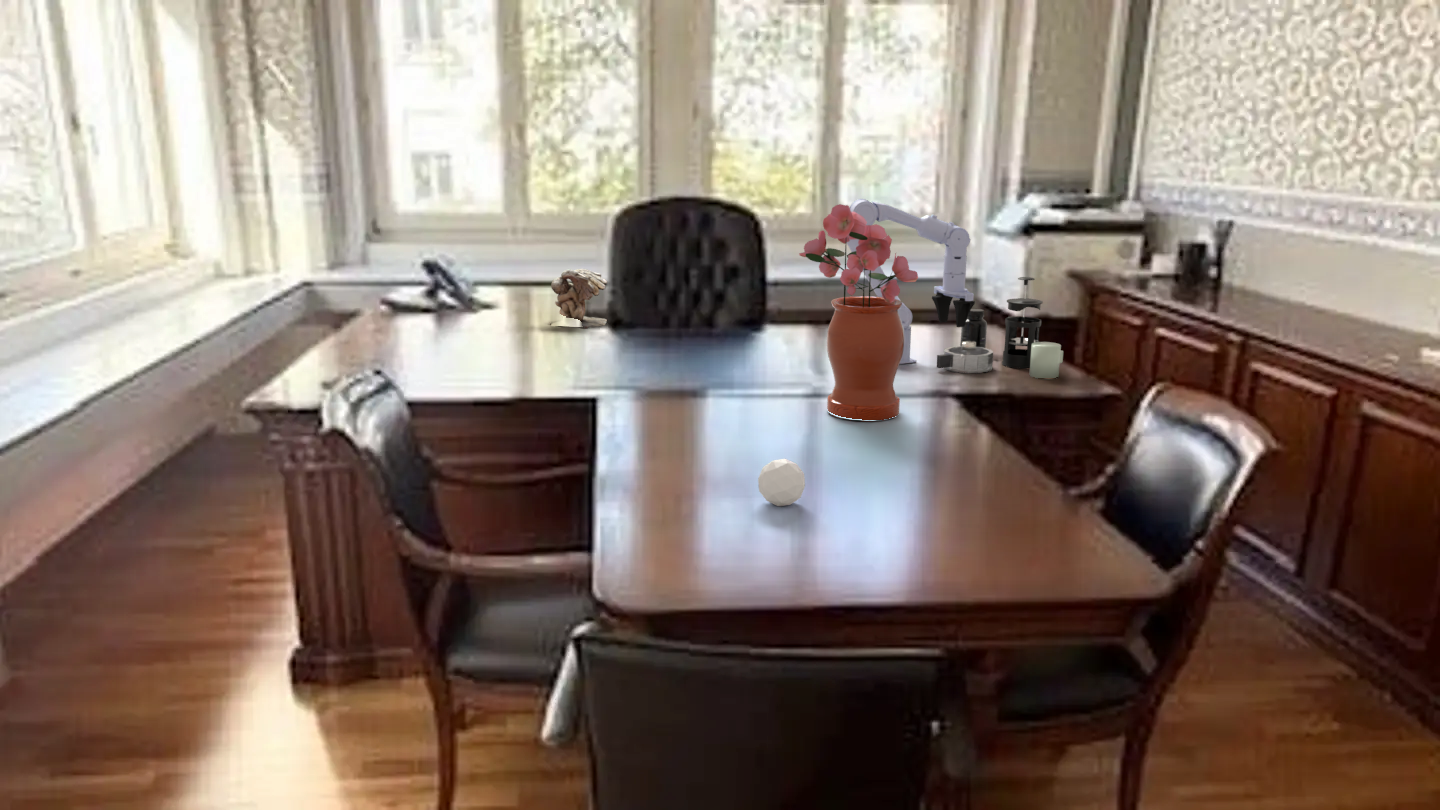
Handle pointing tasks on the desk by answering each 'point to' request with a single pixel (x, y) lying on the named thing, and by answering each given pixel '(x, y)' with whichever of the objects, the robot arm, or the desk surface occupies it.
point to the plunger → (968, 346)
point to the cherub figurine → (578, 294)
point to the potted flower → (862, 318)
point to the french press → (1022, 356)
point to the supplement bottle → (975, 328)
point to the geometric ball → (781, 482)
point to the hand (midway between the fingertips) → (951, 324)
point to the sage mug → (1045, 359)
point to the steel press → (966, 360)
